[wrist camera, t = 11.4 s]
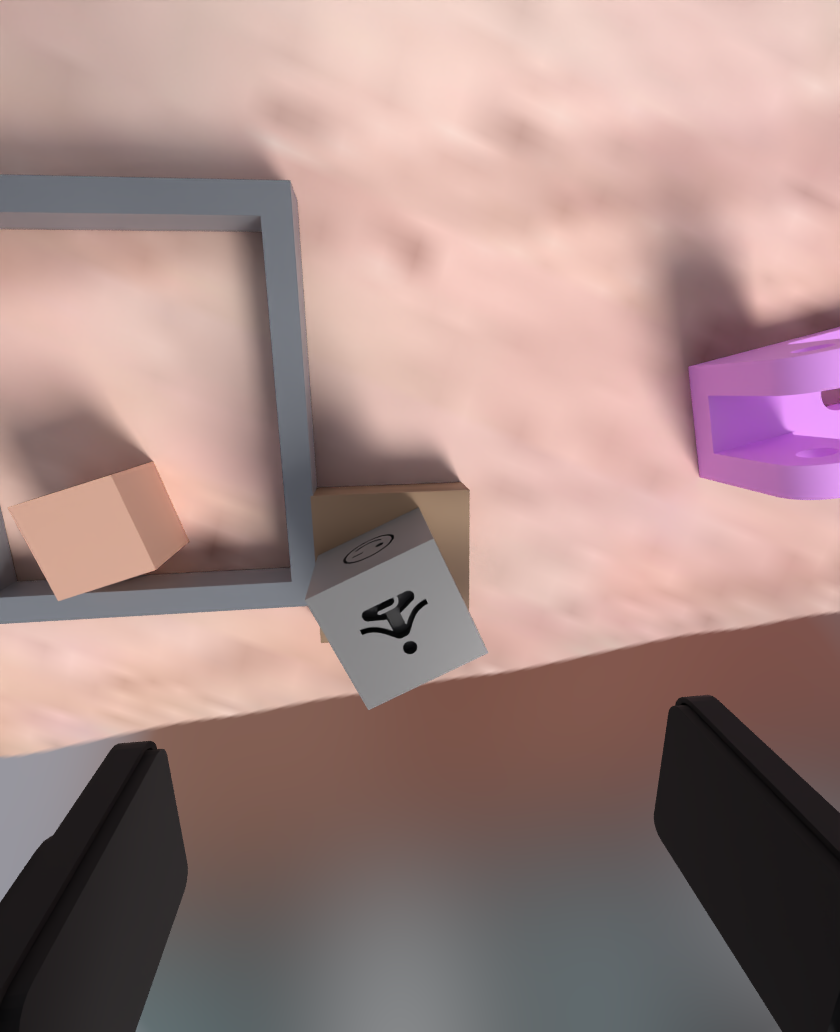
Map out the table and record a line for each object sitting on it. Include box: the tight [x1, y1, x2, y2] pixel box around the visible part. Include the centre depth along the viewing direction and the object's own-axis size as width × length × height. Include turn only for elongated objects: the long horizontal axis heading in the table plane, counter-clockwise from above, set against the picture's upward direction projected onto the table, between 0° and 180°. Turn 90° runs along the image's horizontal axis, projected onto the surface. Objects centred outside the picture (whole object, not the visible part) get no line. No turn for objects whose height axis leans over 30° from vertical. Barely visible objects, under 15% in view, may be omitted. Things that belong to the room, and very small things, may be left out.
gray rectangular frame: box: [0, 175, 317, 624], centre depth 21 cm, size 17×15×2 cm
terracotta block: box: [8, 462, 189, 601], centre depth 21 cm, size 4×4×4 cm
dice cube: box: [305, 507, 488, 710], centre depth 21 cm, size 5×5×5 cm
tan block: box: [310, 482, 469, 643], centre depth 24 cm, size 7×7×2 cm
